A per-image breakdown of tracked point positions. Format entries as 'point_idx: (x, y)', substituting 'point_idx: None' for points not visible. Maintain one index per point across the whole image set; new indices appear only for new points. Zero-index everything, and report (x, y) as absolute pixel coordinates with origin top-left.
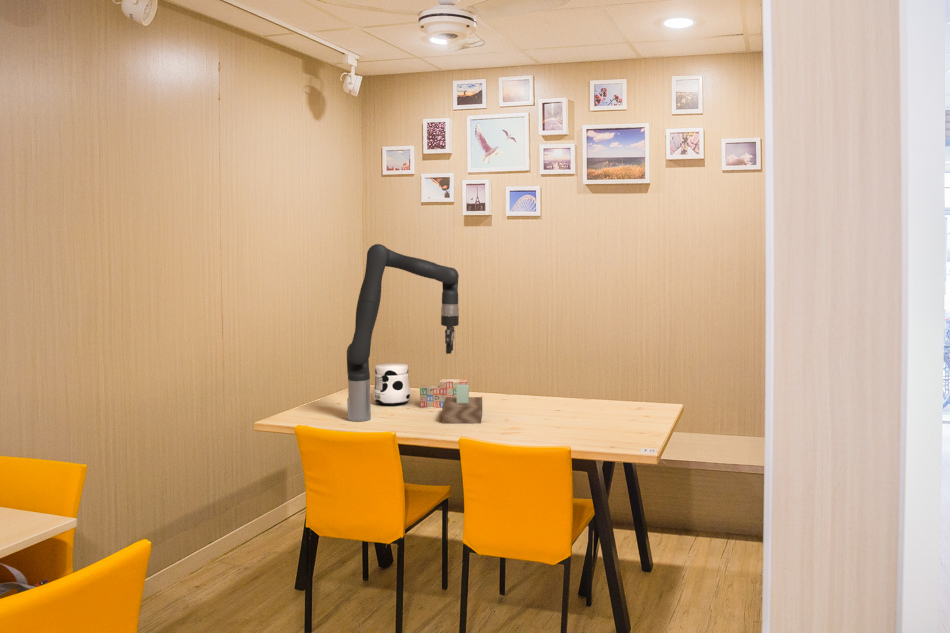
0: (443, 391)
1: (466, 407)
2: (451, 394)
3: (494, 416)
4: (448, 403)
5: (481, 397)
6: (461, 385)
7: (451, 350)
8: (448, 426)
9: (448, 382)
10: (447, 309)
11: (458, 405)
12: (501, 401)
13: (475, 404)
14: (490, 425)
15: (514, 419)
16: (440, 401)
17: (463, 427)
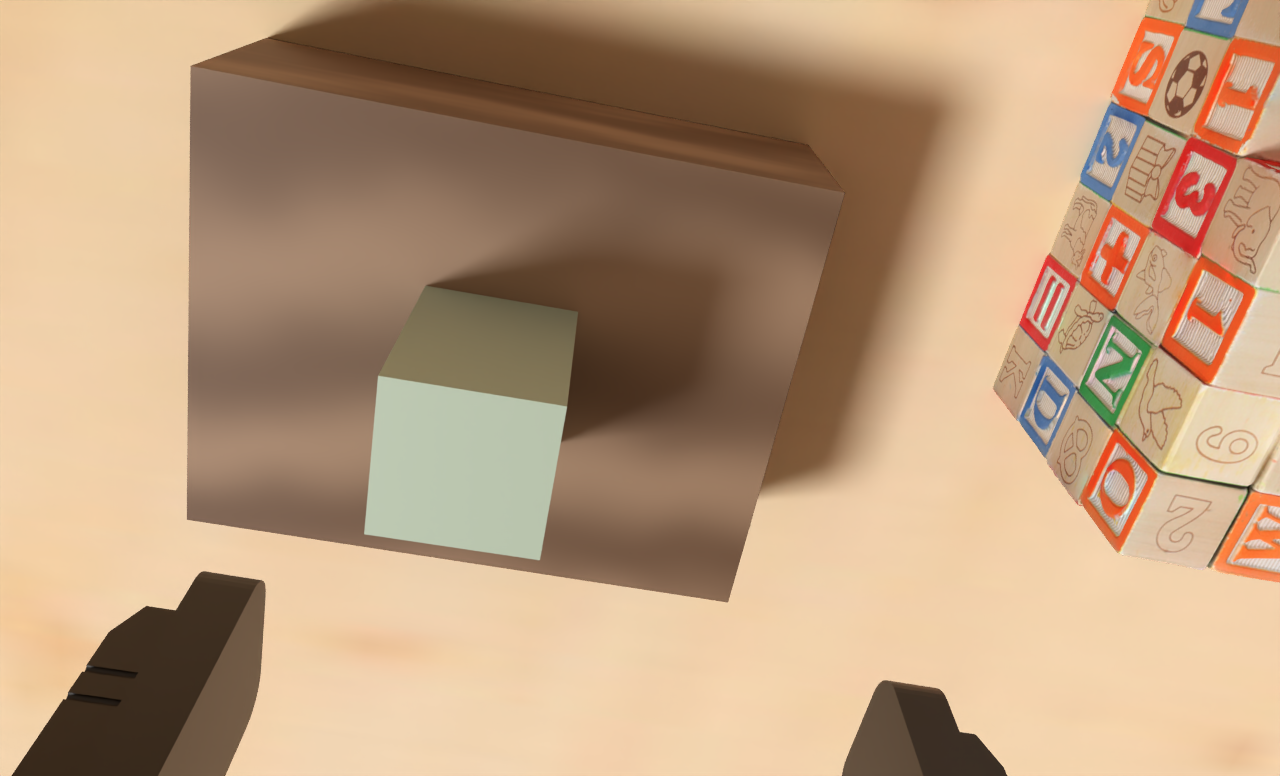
0: (1189, 199)
1: (190, 368)
2: (1124, 292)
3: (535, 578)
4: (411, 178)
5: (709, 592)
6: (478, 458)
7: (849, 765)
8: (120, 91)
9: (1233, 318)
10: None
11: (269, 289)
12: (1157, 721)
13: (315, 483)
14: (166, 495)
15: (392, 702)
16: (1142, 125)
17: (77, 244)
